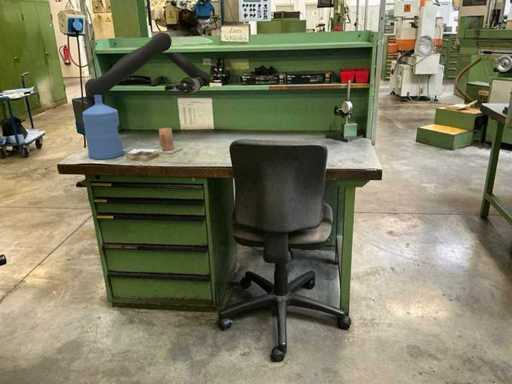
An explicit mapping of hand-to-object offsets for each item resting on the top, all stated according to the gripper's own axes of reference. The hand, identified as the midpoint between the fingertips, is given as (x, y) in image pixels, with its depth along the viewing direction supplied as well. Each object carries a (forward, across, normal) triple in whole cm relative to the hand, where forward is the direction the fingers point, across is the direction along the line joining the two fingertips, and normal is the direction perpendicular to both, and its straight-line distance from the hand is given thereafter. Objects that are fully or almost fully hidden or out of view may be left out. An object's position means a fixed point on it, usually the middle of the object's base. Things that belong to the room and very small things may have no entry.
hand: (172, 89), depth 206 cm
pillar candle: (+15, +4, +27) cm, 31 cm away
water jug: (+31, -19, +28) cm, 46 cm away
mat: (+14, +4, +28) cm, 32 cm away
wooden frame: (+28, 0, +28) cm, 40 cm away
